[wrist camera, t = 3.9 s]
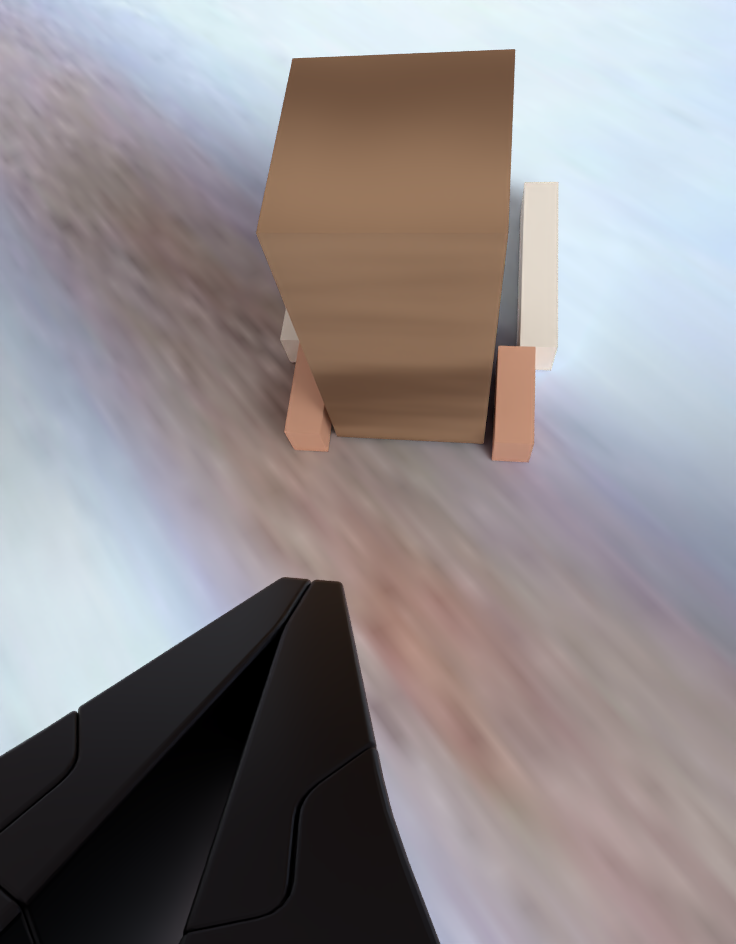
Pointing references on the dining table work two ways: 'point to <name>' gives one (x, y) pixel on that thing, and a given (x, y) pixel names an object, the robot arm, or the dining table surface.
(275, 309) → the dining table surface
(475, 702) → the dining table surface
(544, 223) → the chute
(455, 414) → the block
